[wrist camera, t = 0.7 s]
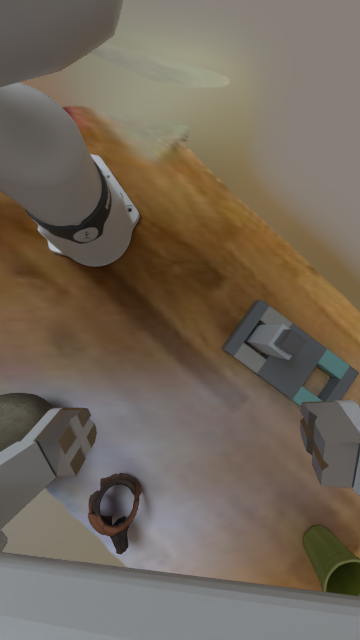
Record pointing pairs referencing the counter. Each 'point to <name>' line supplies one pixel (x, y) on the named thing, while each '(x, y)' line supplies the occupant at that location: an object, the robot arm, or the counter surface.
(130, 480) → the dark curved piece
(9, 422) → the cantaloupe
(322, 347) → the panel
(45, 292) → the counter surface
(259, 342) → the plug
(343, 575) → the plant pot
